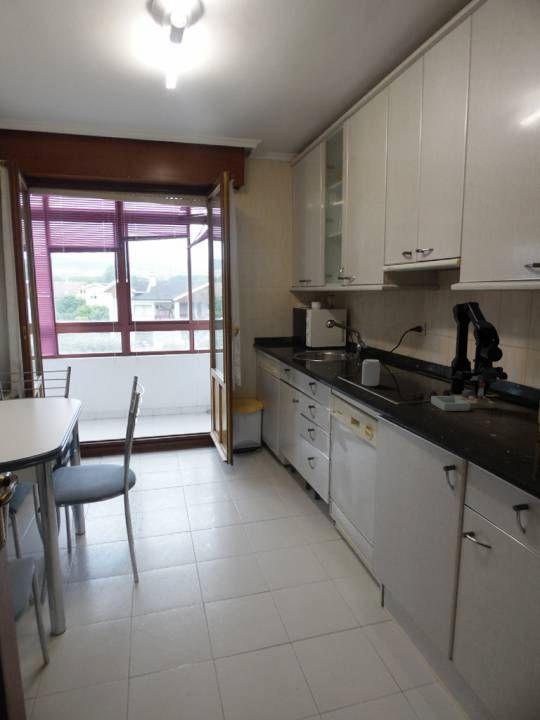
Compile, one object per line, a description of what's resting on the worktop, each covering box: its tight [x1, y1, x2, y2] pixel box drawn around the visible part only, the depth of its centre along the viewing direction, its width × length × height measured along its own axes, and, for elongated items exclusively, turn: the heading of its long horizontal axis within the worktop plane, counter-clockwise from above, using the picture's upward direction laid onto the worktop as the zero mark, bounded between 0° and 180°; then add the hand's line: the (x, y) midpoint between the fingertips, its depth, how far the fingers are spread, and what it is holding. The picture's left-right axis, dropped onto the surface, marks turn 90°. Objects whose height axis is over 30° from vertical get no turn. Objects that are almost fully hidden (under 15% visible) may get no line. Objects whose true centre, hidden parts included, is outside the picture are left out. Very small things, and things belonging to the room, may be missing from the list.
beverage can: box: [361, 358, 381, 387], centre depth 215 cm, size 8×8×12 cm
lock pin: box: [475, 380, 486, 399], centre depth 178 cm, size 4×4×8 cm
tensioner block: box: [453, 389, 496, 409], centre depth 183 cm, size 14×10×5 cm
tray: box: [430, 395, 471, 412], centre depth 178 cm, size 12×10×3 cm
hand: (479, 396), depth 179 cm, fingers closed on lock pin, 3 cm apart
